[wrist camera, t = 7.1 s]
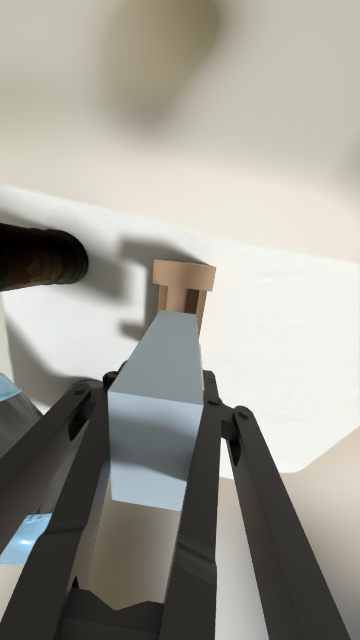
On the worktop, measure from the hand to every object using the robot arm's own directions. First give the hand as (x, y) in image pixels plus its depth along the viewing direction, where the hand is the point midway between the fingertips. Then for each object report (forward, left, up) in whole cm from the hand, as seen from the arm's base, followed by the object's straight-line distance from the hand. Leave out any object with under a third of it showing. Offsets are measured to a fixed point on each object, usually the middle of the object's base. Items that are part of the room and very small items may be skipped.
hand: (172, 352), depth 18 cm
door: (0, 0, -2) cm, 2 cm away
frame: (0, 0, -15) cm, 15 cm away
